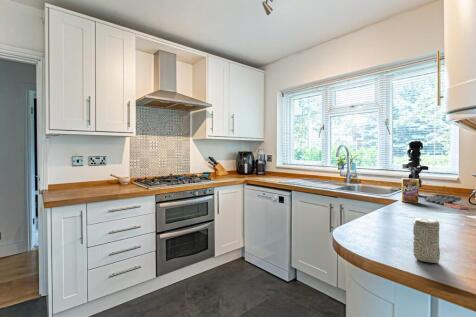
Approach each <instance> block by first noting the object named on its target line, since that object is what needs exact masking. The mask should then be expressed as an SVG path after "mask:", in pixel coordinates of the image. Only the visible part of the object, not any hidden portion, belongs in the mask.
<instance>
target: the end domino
mask: <svg viewBox="0 0 476 317" xmlns="http://www.w3.org/2000/svg"><path fill="white" fill-rule="evenodd" d="M443 206H445V207H449V208H454V209H457V210H468V209H469V208H468V207H469V206H468V205H463V204H458V203H456V202H454V203H444V204H443Z"/></svg>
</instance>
